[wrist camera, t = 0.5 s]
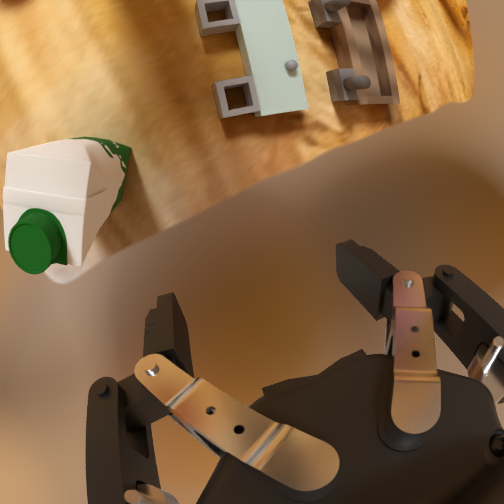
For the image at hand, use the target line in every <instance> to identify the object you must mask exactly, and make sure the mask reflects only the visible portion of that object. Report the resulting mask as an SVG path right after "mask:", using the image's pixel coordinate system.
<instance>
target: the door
mask: <svg viewBox="0 0 504 504" xmlns="http://www.w3.org/2000/svg"><path fill="white" fill-rule="evenodd" d="M218 10H225V14H226V18H227V20H220V21H213V22H208V18H207V14H206V12H211V11H218ZM195 13H196V18H197V22H198V26H199V31H200V35H201V37H202V36H207V35H213V34H219V33H226V32H233V31H235V32H236V37H237V41H238V45H239V49H240V53H241V58H242V62H243V66H244V71H245V75H246V76H245V77H239V78H233V79H228V80H223V81H217V82H215V83H214V84H213V86H212V88H213V92H214V96H215V101H216V105H217V109H218V114H219V118H220V119H222V118H227V117H231V116H236V115H241V114H246V113H251V112H254V116H255V117H259V116H265V115H271V114H277V113H284V112H290V111H297V110H305V109H308V105H307V100H306V94H305V89H304V84H303V80H302V75H301V70H300V66H299V61H298V57H297V53H296V48H295V44H294V40H293V36H292V32H291V29H290V25H289V21H288V17H287V14H286V10H285V7H284V3H283V0H196V5H195ZM240 86H243V90H244V95H245V99H246V104H247V107H242V108H237V109H232V110H229V109H228V105H227V100H226V96H225V91H224V89H229V88H234V87H240Z"/></svg>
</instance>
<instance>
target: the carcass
mask: <svg viewBox="0 0 504 504" xmlns="http://www.w3.org/2000/svg"><path fill="white" fill-rule="evenodd" d="M308 3H309V6H310V10H311V13H312V17H313V20H314V24H315V27H317V28H330V31H331V35H332V39H333V43H334V47H335V51H336V55H337V60H338V64H339V69H335V70H331V71H328V72H326V74H327V79H328V84H329V89H330V94H331V100H332V102H333V101H346V105H361V104H400V100H399V93H398V87H397V81H396V75H395V70H394V65H393V60H392V55H391V51H390V46H389V42H388V38H387V34H386V31H385V27H384V23H383V20H382V16H381V13H380V10H379V7H378V4H377V1H376V0H311V1H310V2H308Z"/></svg>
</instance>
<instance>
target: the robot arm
mask: <svg viewBox="0 0 504 504" xmlns="http://www.w3.org/2000/svg"><path fill="white" fill-rule="evenodd" d="M336 269H337V275H338V278H339V280H340V281H341V283H342V284H343V285H344V286H345V287H346V288H347V289H348V290H349V291H350V292H351V293H352V294H353V295H354V297H355V298H356V299H357V300H358V301H359V302H360V303H361V304H362V305H363V306H364V307H365V309H366V310H367V311H368V312H369V313H370V314H371V315H372V316H373V318H374V319H375V320H376V321H377V320H379V319H381V318H383V317H386V319H387V321H386V333H385V347H384V354H372V355H366V354H365V352H364V351H363V350H362V349H361V350H359V351H357V352H355V353H352V354H350V355H348V356H346V357H343V358H341V359H339V360H338V361H337V362H335V363H334V364H333V365H331V366H330V367H328V368H327V369H325V370H324V371H322V372H321V373H320V374H318V375H314V376H307V377H301V378H295V379H288V380H285V381H282V382H279V383H276V384H273V385H270V386H267V387H264V388H262V390H263V393H264V396H262V397H261V398H259V399H258V400H256V401H255V402H254V403H253V404H252V405H250V406H249V407H247V406H245V405H244V404H242V403H240V402H239V401H237V400H235V399H234V398H232V397H230V396H229V395H227V394H226V393H224V392H222V391H220V390H219V389H217V388H216V387H215V386H213V385H211V384H210V383H208V382H207V381H205V380H204V379H202V378H197V379H194V373H193V366H192V358H191V351H190V342H189V334H188V327H187V323H186V320H185V318H184V315H183V313H182V310H181V308H180V306H179V304H178V301H177V299H176V297H175V295H174V293H169V294H165V295H162V296H158V299H157V308H155V309H152V310H150V311H149V313H148V315H147V317H146V321H145V335H144V349H143V358H142V359H141V360H140V361H139V362H138V363H137V365H136V367H135V371H134V372H135V373H134V374H132V375H131V376H129V377H127V378H125V379H123V380H121V381H119V382H117V381H116V380H115V379H113V378H111V377H103V378H100V379H98V380H97V381H95V383H93V384H92V386H91V388H90V390H89V395H88V407H87V422H86V423H87V424H86V482H87V497H88V504H179V502H178V501H177V499H176V498H175V497H174V496H173V495H171V494H170V493H168V492H165V491H163V490H161V487H160V483H159V477H158V471H157V465H156V460H155V453H154V446H153V439H152V431H151V423H153V422H155V421H157V420H159V419H161V418H163V417H165V416H167V415H168V416H169V417H171V418H172V419H173V420H174V421H175V422H176V423H178V424H179V425H180V426H181V427H182V428H183V429H185V430H186V431H187V432H188V433H189V434H191V435H192V436H193V437H195V438H196V439H197V440H198V441H199V442H200V443H201V444H203V445H204V446H205V447H206V448H208V449H209V450H210V451H211V452H213V453H214V454H215V455H217V456H218V457H219V458H220V460H219V462H218V464H217V466H216V468H215V470H214V472H213V474H212V476H211V477H210V479H209V481H208V483H207V485H206V487H205V488H204V490H203V492H202V494H201V496H200V498H199V499H198V501H197V503H196V504H504V430H503V428H502V426H501V424H500V421H499V419H498V415H497V412H496V407H495V405H496V404H497V403H498V404H499V403H503V402H504V309H503V308H502V307H501V306H500V305H499V304H498V303H497V302H496V301H495V300H493V299H492V298H491V297H490V296H489V295H488V294H487V293H485V292H484V291H483V290H482V289H481V288H480V287H478V286H477V285H476V284H475V283H474V282H472V281H471V280H470V279H469V278H468V277H466V276H465V275H464V274H463V273H461V272H460V271H459V270H458V269H456V268H455V267H453V266H450V265H440V266H438V267H437V268H436V269H435V273H434V276H432V277H426V278H421V277H420V276H419V275H418V274H416V273H414V272H411V271H402V272H400V271H399V270H397V269H396V268H395V267H394V266H392V265H391V264H390V263H389V262H387V261H386V260H385V259H383V258H382V257H381V256H380V255H378V254H377V253H376V252H374V251H373V250H372V249H370V248H367V247H364V246H359V245H358V244H357V243H355V242H354V241H353V240H351V239H350V240H347V241H344V242H341V243H338V244H337V245H336ZM453 303H454V304H455V305H456V306H457V307H458V308H459V309H460V310H461V311H462V312H463V314H464V318H465V320H464V322H463V321H462V320H461V319H460V318H459V317H458V316H457V315H456V314H455V313H454V312H453V311H452V310H451V309H452V306H453ZM434 331H435V332H436V334H437V335H438V336H439V337H440V338H441V339H442V340H443V342H444V343H445V344H446V345H447V346H448V347H449V348H450V349H451V351H452V352H453V353H454V354H455V355H456V357H457V358H458V359H459V360H460V361H461V363H462V364H463V365H464V366H465V368H466V369H467V370H468V376H469V377H465V376H461V375H458V374H454V373H450V372H446V371H443V370H439V369H437V361H436V347H435V336H434Z"/></svg>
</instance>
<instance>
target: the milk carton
mask: <svg viewBox="0 0 504 504" xmlns="http://www.w3.org/2000/svg"><path fill="white" fill-rule="evenodd" d="M130 151H131V148H130V147H127V146H125V145H122V144H119V143H116V142H113V141H110V140H106V139H99V138H93V137H79V138H72V139H65V140H59V141H54V142H49V143H45V144H41V145H37V146H33V147H29V148H25V149H21V150H17V151H13V152H9V153H8V155H7V164H6V176H5V186H4V187H3V202H4V234H5V247H6V250H7V251H10V254H11V257H12V258H13V260H14V262H15V263H16V264H17V265H18V267H20V268H21V269H22V270H23V271H25V272H27V273H30V274H40V273H42V272H44V271H45V270H46V269H47V268H48V267H49V266H50V265H51V264H54V263H59V264H63V265H67V264H71V265H75V266H80V267H81V266H82V264H83V262H84V260H85V257H86V255H87V253H88V251H89V249H90V247H91V245H92V243H93V241H94V239H95V237H96V235H97V233H98V231H99V229H100V227H101V226H102V225H103V223H104V222H105V220H106V219H107V218H108V216H109V215H110V214H111V212H112V211H113V210H114V208H115V207H116V206H117V204H118V203H119V202H120V201H121V198H122V193H123V188H124V183H125V178H126V173H127V167H128V161H129V156H130Z"/></svg>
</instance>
